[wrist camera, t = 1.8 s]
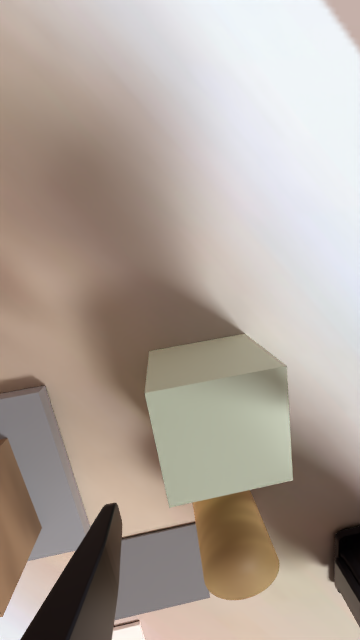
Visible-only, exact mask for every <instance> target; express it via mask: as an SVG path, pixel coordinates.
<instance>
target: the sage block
mask: <svg viewBox="0 0 360 640" xmlns="http://www.w3.org/2000/svg"><path fill="white" fill-rule="evenodd" d="M145 398H146V402H147V407H148V411H149V416H150V421H151V425H152V430H153V434H154V439H155V444H156V448H157V453H158V457H159V462H160V467H161V471H162V476H163V480H164V485H165V490H166V494H167V499H168V503H169V508H170V507H174V506H179V505H184V504H188V503H193V502H197V501H202V500H206V499H211V498H215V497H220V496H224V495H229V494H234V493H238V492H243V491H247V490H252V489H256V488H261V487H265V486H270V485H274V484H279V483H284V482H288V481H293V471H292V454H291V436H290V418H289V400H288V383H287V366H286V365H285V364H284V363H282V362H281V361H280V360H278V359H277V358H276V357H274V356H273V355H272V354H271V353H269V352H268V351H267V350H265V349H264V348H263V347H261V346H260V345H259V344H258V343H256V342H255V341H254V340H252V339H251V338H250V337H248V336H247V335H246V334H240V335H234V336H229V337H223V338H218V339H212V340H207V341H201V342H196V343H190V344H185V345H180V346H174V347H169V348H163V349H158V350H152V351H149V356H148V365H147V375H146V384H145Z"/></svg>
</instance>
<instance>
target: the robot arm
mask: <svg viewBox="0 0 360 640" xmlns="http://www.w3.org/2000/svg"><path fill="white" fill-rule="evenodd" d="M121 541H122V519H121V516H120V512H119V508H118V505H117V503H111V504H106V505H105V506H104V507H103V508H102V510H101V511H100V513H99V514H98V516H97V518H96V519H95V521H94V522H93V524H92V526H91V527H90V529H89V530H88V532H87V534H86V535H85V537H84V538H83V540H82V542H81V543H80V545H79V546H78V548H77V550H76V551H75V553H74V554H73V556H72V558H71V559H70V561H69V563H68V564H67V566H66V567H65V569H64V571H63V572H62V574H61V575H60V577H59V579H58V580H57V582H56V583H55V585H54V587H53V588H52V590H51V591H50V593H49V595H48V596H47V598H46V599H45V601H44V603H43V604H42V606H41V607H40V609H39V611H38V612H37V614H36V615H35V617H34V619H33V620H32V622H31V623H30V625H29V627H28V628H27V630H26V631H25V633H24V635H23V636H22V638H21V640H112V634H113V627H114V620H115V613H116V606H117V598H118V590H119V576H120V559H121ZM335 587H336V588H337V590H338V592H339V593H341V594H342V596H343V598H344V600H345V602H346V603H347V605H348V607H349V609H350V611H351V612H352V614H353V616H354V618H355V620H356V621H357V623H358V625H359V627H360V526H359V527H355V528H350V529H346V530H342V531H339V532H337V533H336V534H335Z"/></svg>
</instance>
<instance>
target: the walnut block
mask: <svg viewBox="0 0 360 640" xmlns="http://www.w3.org/2000/svg"><path fill="white" fill-rule="evenodd" d="M41 529H42V526H41V524H40V521H39V519H38V516H37V513H36V511H35V508H34V506H33V503H32V500H31V498H30V495H29V493H28V490H27V487H26V485H25V482H24V480H23V477H22V474H21V472H20V469H19V467H18V464H17V461H16V459H15V456H14V453H13V451H12V448H11V446H10V443H9V440H8V438H6V439H0V617H3V615H4V612H5V610H6V608H7V606H8V603H9V601H10V599H11V597H12V594H13V592H14V590H15V588H16V585H17V583H18V581H19V579H20V576H21V574H22V572H23V570H24V567H25V565H26V563H27V561H28V558H29V556H30V554H31V552H32V549H33V547H34V545H35V543H36V540H37V538H38V536H39V534H40V531H41Z"/></svg>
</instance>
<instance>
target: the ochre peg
mask: <svg viewBox="0 0 360 640" xmlns="http://www.w3.org/2000/svg"><path fill="white" fill-rule="evenodd" d="M193 508H194V515H195V522H196V528H197V535H198V542H199V549H200V556H201V562H202V569H203V576H204V582H205V585H206V587H207V589H208V590H209V591H210V592H211V593H212V594H213V595H215V596H217V597H219V598H222V599H226V600H241V599H246V598H250V597H252V596H255V595H257V594H259V593H261V592H262V591H264V590H265V589H266V588H268V587H269V586H270V585H271V584H272V582H273V581H274V580H275V578H276V576H277V574H278V571H279V559H278V557H277V554H276V552H275V549H274V547H273V544H272V542H271V540H270V537H269V535H268V532H267V530H266V528H265V525H264V523H263V520H262V518H261V515H260V513H259V511H258V508H257V506H256V503H255V501H254V498H253V496H252V494H251V491H250V490H247V491H243V492H238V493H234V494H229V495H224V496H220V497H215V498H211V499H206V500H202V501H197V502H193Z"/></svg>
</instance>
